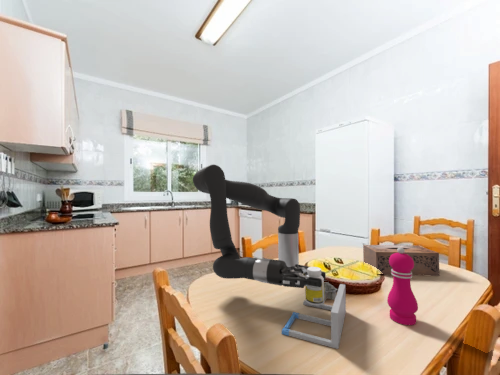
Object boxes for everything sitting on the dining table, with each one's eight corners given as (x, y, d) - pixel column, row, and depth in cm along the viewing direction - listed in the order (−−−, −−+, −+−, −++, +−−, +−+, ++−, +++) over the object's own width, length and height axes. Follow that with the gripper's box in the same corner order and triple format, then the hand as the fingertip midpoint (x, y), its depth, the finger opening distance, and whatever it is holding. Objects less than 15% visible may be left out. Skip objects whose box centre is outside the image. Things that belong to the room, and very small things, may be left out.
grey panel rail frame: (301, 302, 77) (300, 277, 77) (345, 311, 71) (345, 284, 71) (281, 333, 60) (281, 301, 60) (338, 349, 54) (337, 313, 54)
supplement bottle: (311, 296, 74) (311, 264, 74) (327, 301, 70) (327, 268, 70) (302, 301, 70) (301, 268, 70) (318, 308, 66) (318, 273, 67)
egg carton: (306, 289, 88) (306, 278, 89) (325, 288, 89) (325, 277, 90) (318, 302, 78) (317, 289, 78) (339, 300, 79) (339, 287, 79)
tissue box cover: (418, 266, 115) (418, 245, 116) (439, 276, 101) (438, 252, 101) (363, 265, 118) (363, 244, 118) (376, 275, 103) (376, 251, 103)
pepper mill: (423, 328, 62) (421, 251, 62) (393, 325, 63) (391, 249, 64) (411, 314, 69) (409, 245, 70) (383, 311, 70) (382, 244, 71)
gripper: (260, 266, 70) (318, 274, 63) (277, 254, 83) (327, 259, 76) (260, 291, 70) (319, 302, 63) (277, 275, 83) (327, 283, 76)
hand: (323, 279), depth 69 cm, fingers closed on supplement bottle, 5 cm apart
